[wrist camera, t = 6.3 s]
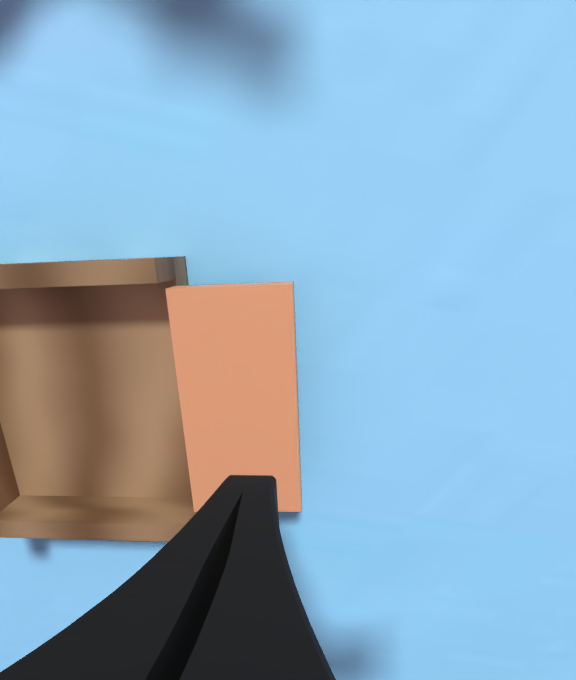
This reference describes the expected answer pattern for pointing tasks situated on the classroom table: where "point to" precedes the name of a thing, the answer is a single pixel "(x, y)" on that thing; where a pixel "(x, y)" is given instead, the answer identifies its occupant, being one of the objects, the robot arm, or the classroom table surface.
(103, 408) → the open wooden crate
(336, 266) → the classroom table surface
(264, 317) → the orange rectangular block
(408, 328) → the classroom table surface
